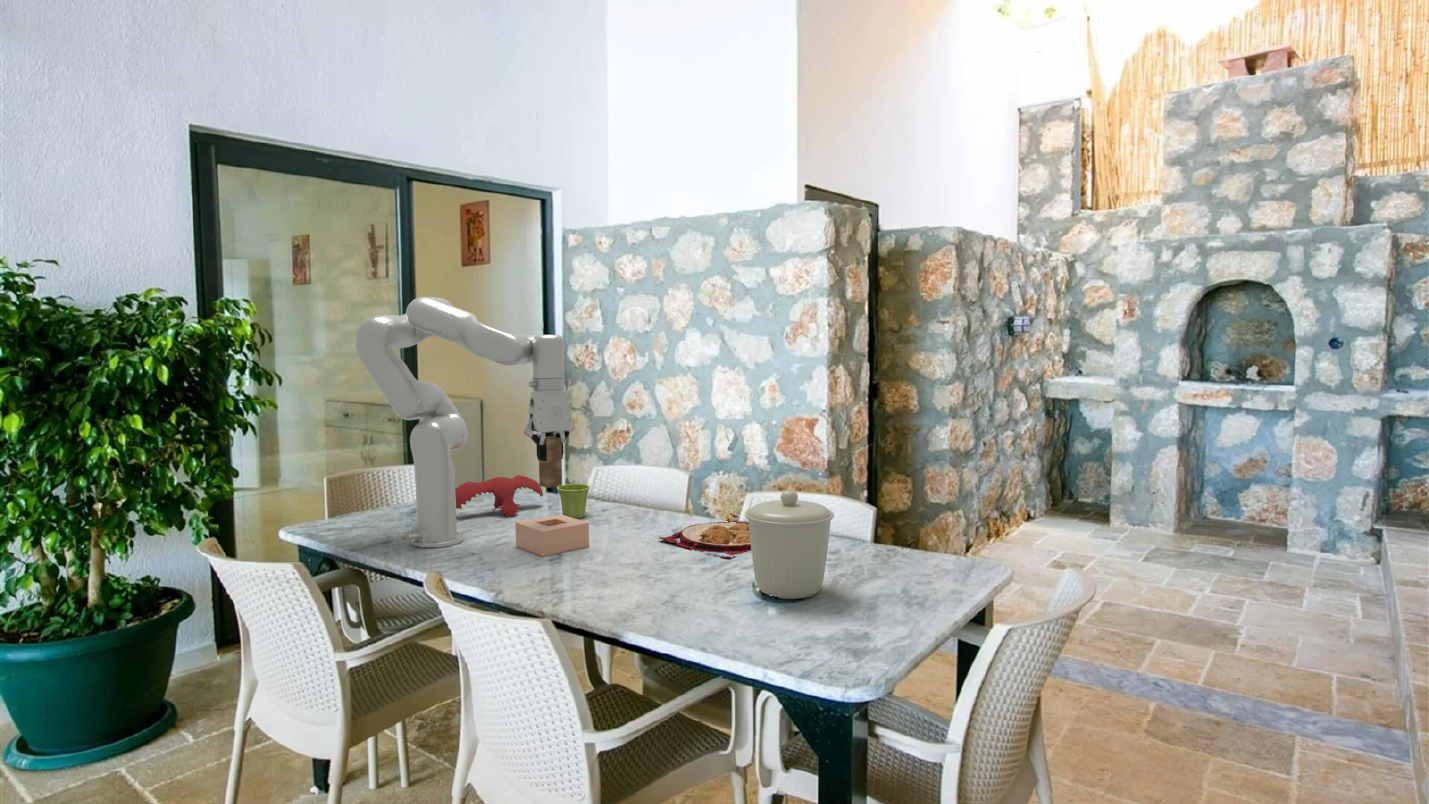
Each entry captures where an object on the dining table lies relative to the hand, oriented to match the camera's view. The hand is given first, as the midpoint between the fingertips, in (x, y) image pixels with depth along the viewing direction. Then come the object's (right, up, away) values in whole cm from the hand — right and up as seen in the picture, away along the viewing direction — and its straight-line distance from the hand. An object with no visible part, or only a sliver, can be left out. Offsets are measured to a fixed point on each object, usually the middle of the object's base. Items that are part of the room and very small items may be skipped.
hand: (550, 458), depth 208 cm
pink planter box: (0, -22, +2) cm, 22 cm away
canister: (+56, -25, -35) cm, 71 cm away
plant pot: (0, -19, +34) cm, 39 cm away
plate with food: (+44, -22, +7) cm, 50 cm away
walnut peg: (0, -7, +1) cm, 7 cm away
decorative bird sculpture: (-22, -19, +39) cm, 48 cm away
